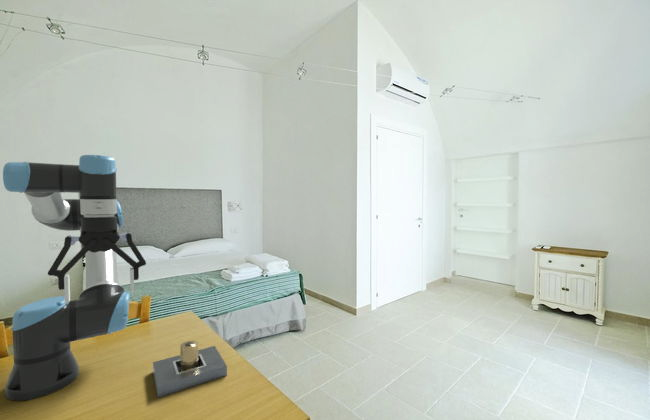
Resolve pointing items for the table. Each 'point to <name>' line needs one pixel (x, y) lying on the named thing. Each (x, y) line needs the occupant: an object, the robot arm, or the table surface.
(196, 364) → the brass domed cylinder
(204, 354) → the plate
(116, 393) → the table surface
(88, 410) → the table surface
